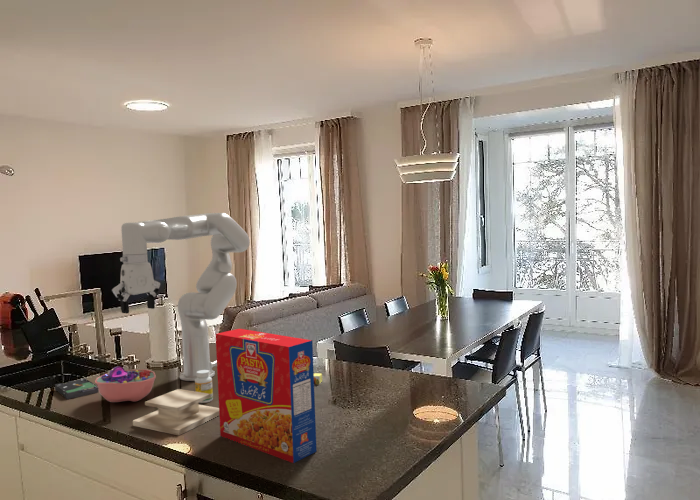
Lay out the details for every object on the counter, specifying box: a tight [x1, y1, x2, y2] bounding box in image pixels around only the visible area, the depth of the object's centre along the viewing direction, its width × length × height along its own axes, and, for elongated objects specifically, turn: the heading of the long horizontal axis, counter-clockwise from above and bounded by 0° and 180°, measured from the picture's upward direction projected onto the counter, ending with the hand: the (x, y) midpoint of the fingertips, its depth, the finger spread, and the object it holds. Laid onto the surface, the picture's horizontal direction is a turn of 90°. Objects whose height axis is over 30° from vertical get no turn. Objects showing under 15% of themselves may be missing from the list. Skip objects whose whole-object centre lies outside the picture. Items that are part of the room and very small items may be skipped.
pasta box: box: [215, 328, 318, 464], centre depth 142 cm, size 28×8×28 cm, turn 50°
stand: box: [132, 388, 219, 436], centre depth 162 cm, size 18×18×6 cm
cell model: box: [94, 365, 157, 403], centre depth 181 cm, size 17×20×11 cm
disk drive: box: [54, 378, 99, 400], centre depth 193 cm, size 10×3×15 cm
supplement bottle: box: [194, 370, 214, 404], centre depth 178 cm, size 5×5×10 cm
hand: (138, 310), depth 184 cm, fingers open, 9 cm apart
